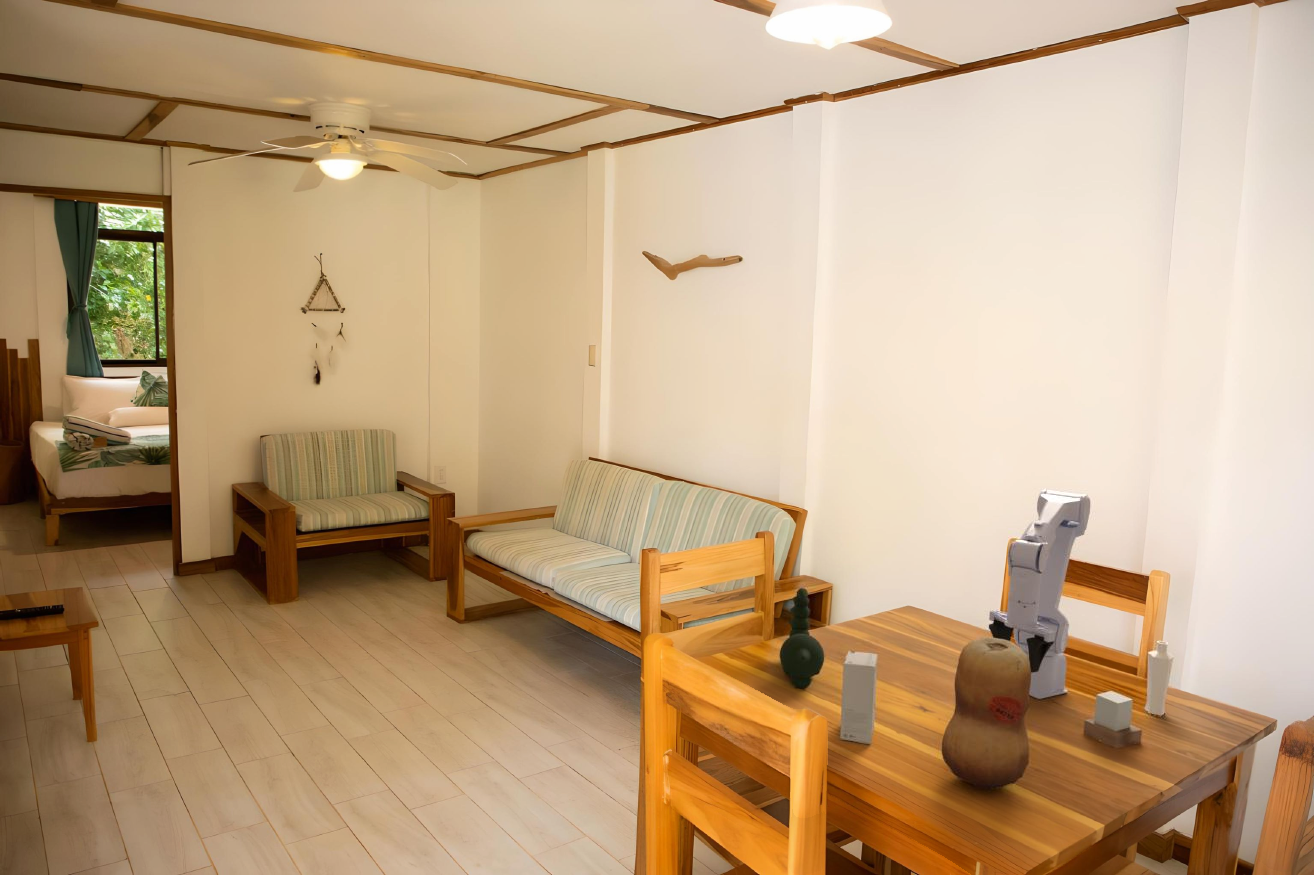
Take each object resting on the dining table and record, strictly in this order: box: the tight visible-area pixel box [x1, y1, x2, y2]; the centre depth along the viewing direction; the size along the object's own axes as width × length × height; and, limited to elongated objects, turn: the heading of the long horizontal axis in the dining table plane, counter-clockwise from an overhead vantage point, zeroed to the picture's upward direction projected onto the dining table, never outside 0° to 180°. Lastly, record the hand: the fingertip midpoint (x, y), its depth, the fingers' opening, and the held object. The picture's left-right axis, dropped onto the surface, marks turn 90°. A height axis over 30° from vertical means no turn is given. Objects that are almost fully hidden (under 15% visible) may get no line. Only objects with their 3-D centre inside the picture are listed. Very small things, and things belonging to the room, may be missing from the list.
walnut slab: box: [1083, 717, 1143, 749], centre depth 171 cm, size 7×7×3 cm
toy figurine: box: [779, 587, 825, 689], centre depth 195 cm, size 9×19×25 cm
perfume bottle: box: [1144, 640, 1174, 715], centre depth 183 cm, size 5×4×15 cm
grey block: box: [1094, 690, 1134, 731], centre depth 170 cm, size 4×4×6 cm
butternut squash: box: [941, 636, 1031, 790], centre depth 149 cm, size 14×13×25 cm
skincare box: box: [839, 650, 878, 745], centre depth 168 cm, size 8×6×15 cm
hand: (1017, 664), depth 180 cm, fingers open, 7 cm apart
